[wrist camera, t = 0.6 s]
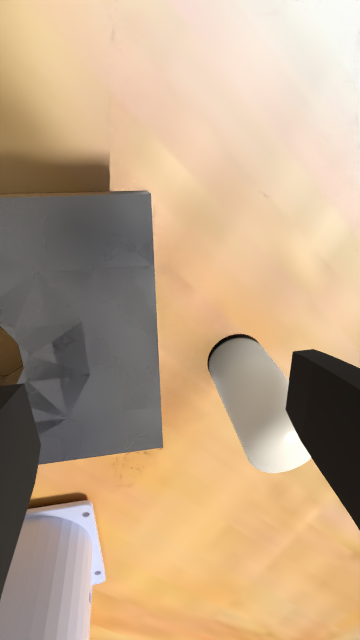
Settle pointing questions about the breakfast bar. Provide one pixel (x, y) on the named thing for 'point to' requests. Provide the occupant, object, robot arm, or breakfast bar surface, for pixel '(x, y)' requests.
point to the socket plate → (83, 319)
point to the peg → (256, 403)
